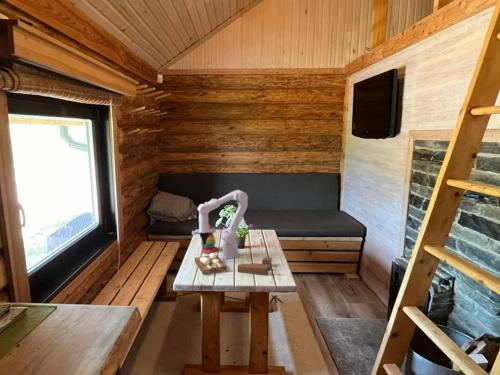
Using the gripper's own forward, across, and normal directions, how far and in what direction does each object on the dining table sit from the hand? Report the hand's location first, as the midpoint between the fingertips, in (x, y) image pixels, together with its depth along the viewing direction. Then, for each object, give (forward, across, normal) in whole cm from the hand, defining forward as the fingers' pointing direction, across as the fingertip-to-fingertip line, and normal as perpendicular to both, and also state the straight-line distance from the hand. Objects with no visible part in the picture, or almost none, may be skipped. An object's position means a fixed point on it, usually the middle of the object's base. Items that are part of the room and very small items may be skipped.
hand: (204, 244), depth 203 cm
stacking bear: (+11, -7, -15) cm, 20 cm away
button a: (+10, +2, +7) cm, 12 cm away
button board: (+10, 0, +11) cm, 15 cm away
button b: (+8, +3, +13) cm, 15 cm away
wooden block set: (+11, -25, +24) cm, 36 cm away
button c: (+8, -4, +7) cm, 11 cm away
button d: (+10, -4, +13) cm, 17 cm away
